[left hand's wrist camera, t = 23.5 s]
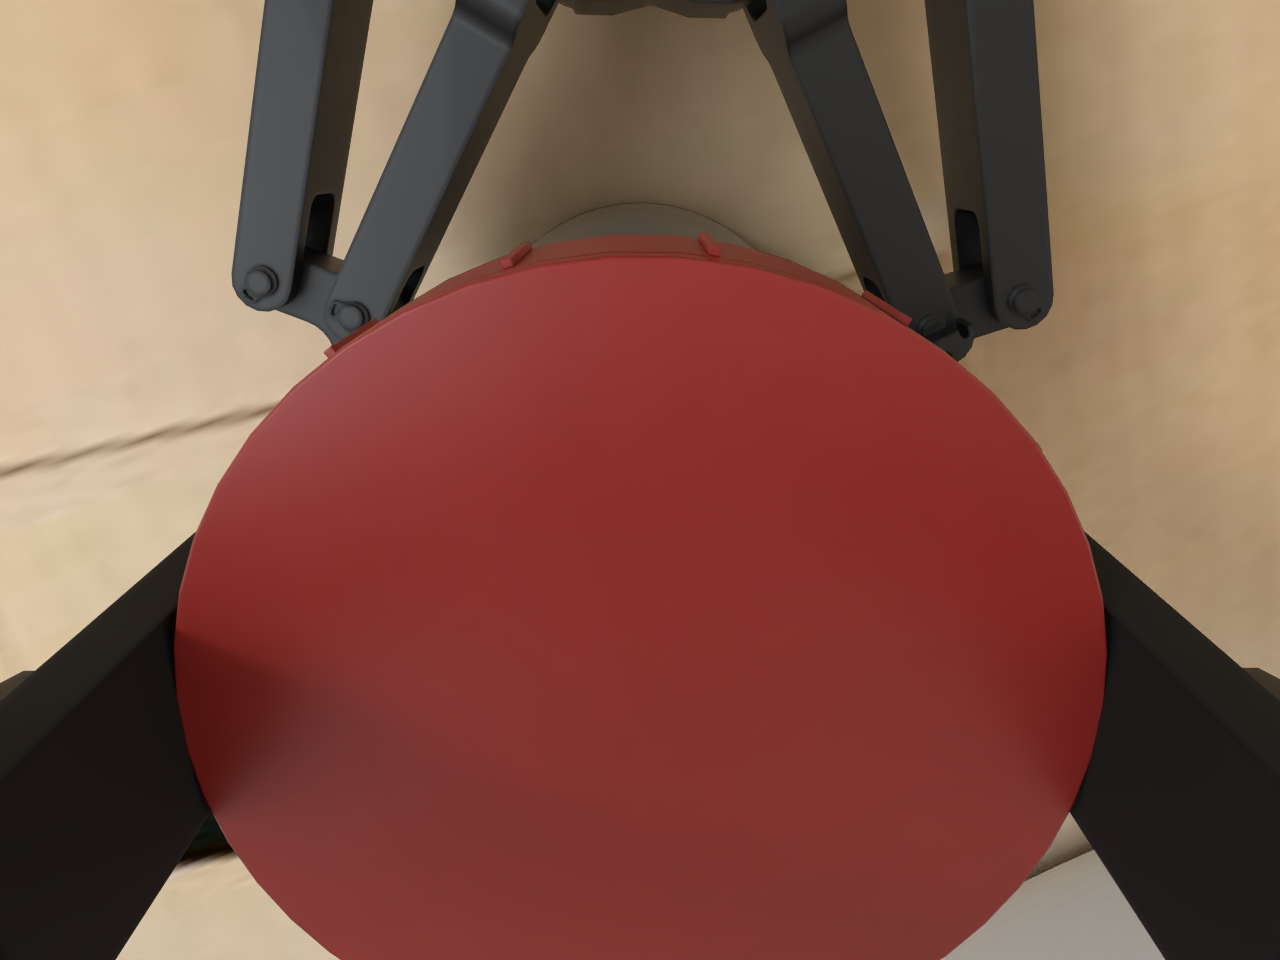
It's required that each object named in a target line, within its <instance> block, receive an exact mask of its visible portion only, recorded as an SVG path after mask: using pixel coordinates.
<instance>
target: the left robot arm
mask: <svg viewBox="0 0 1280 960" xmlns="http://www.w3.org/2000/svg"><path fill="white" fill-rule="evenodd" d="M1084 533H1085V535H1086V537H1087V540H1088V542H1089V545H1090V549H1091V553H1092V557H1093V561H1094V565H1095V569H1096V573H1097V577H1098V581H1099V585H1100V589H1101V593H1102V597H1103V606H1104V618H1105V630H1106V642H1107V667H1106V681H1105V695H1104V701H1103V707H1102V711H1101V716H1100V720H1099V725H1098V730H1097V734H1096V739H1095V743H1094V748H1093V752H1092V757H1091V760H1090V763H1089V766H1088V768H1087V771H1086V773H1085V776H1084V779H1083V781H1082V784H1081V786H1080V789H1079V792H1078V794H1077V797H1076V799H1075V802H1074V804H1073V806H1072V808H1071V809H1070V811H1069V812H1070V813H1071V815H1072V816H1073V818H1074V819H1075V821H1076V822H1077V824H1078V826H1079V827H1080V829H1081V830H1082V832H1083V833H1084V835H1085V836H1086V838H1087V839H1088V841H1089V843H1090V844H1091V846H1092V847H1093V849H1094V850H1095V852H1096V853H1097V855H1098V857H1099V858H1100V860H1101V861H1102V863H1103V864H1104V866H1105V867H1106V869H1107V870H1108V872H1109V874H1110V875H1111V877H1112V878H1113V880H1114V881H1115V883H1116V884H1117V886H1118V888H1119V889H1120V891H1121V892H1122V894H1123V895H1124V897H1125V898H1126V900H1127V901H1128V903H1129V905H1130V906H1131V908H1132V909H1133V911H1134V912H1135V914H1136V915H1137V917H1138V919H1139V920H1140V922H1141V923H1142V925H1143V926H1144V928H1145V929H1146V931H1147V932H1148V934H1149V936H1150V937H1151V939H1152V940H1153V942H1154V943H1155V945H1156V946H1157V948H1158V949H1159V951H1160V953H1161V954H1162V956H1163V957H1164V959H1165V960H1280V679H1278V678H1276V677H1274V676H1273V675H1271V674H1269V673H1267V672H1265V671H1263V670H1261V669H1259V668H1241V667H1240V666H1239V665H1238V664H1237V663H1236V662H1235V661H1233V660H1232V659H1231V658H1230V657H1229V656H1228V655H1226V654H1225V653H1224V652H1223V651H1222V650H1221V649H1220V648H1218V647H1217V646H1216V645H1215V644H1214V643H1213V642H1211V641H1210V640H1209V639H1208V638H1207V637H1206V636H1205V635H1203V634H1202V633H1201V632H1200V631H1199V630H1198V629H1196V628H1195V627H1194V626H1193V625H1192V624H1191V623H1190V622H1188V621H1187V620H1186V619H1185V618H1184V617H1183V616H1181V615H1180V614H1179V613H1178V612H1177V611H1176V610H1174V609H1173V608H1172V607H1171V606H1170V605H1169V604H1168V603H1166V602H1165V601H1164V600H1163V599H1162V598H1161V597H1159V596H1158V595H1157V594H1156V593H1155V592H1154V591H1153V590H1151V589H1150V588H1149V587H1148V586H1147V585H1146V584H1144V583H1143V582H1142V581H1141V580H1140V579H1139V578H1138V577H1136V576H1135V575H1134V574H1133V573H1132V572H1131V571H1129V570H1128V569H1127V568H1126V567H1125V566H1124V565H1123V564H1121V563H1120V562H1119V561H1118V560H1117V559H1116V558H1114V557H1113V556H1112V555H1111V554H1110V553H1109V552H1107V551H1106V550H1105V549H1104V548H1103V547H1102V546H1101V545H1099V544H1098V543H1097V542H1096V541H1095V540H1094V539H1092V538H1091V537H1090V536H1089V535H1088V534H1087V533H1086V532H1084ZM195 534H196V532H195V533H194V534H193V535H192V536H190V537H189V538H188V539H187V540H186V541H185V542H183V543H182V544H181V545H180V546H179V547H178V548H177V549H175V550H174V551H173V552H172V553H171V554H170V555H168V556H167V557H166V558H165V559H164V560H163V561H162V562H160V563H159V564H158V565H157V566H156V567H155V568H153V569H152V570H151V571H150V572H149V573H148V574H147V575H145V576H144V577H143V578H142V579H141V580H140V581H138V582H137V583H136V584H135V585H134V586H133V587H132V588H130V589H129V590H128V591H127V592H126V593H125V594H123V595H122V596H121V597H120V598H119V599H118V600H117V601H115V602H114V603H113V604H112V605H111V606H110V607H108V608H107V609H106V610H105V611H104V612H103V613H101V614H100V615H99V616H98V617H97V618H96V619H95V620H93V621H92V622H91V623H90V624H89V625H88V626H86V627H85V628H84V629H83V630H82V631H81V632H80V633H78V634H77V635H76V636H75V637H74V638H73V639H71V640H70V641H69V642H68V643H67V644H66V645H65V646H63V647H62V648H61V649H60V650H59V651H58V652H56V653H55V654H54V655H53V656H52V657H51V658H50V659H48V660H47V661H46V662H45V663H44V664H43V665H41V666H40V667H39V668H38V669H37V670H36V671H22V672H20V673H19V674H17V675H15V676H13V677H11V678H9V679H7V680H5V681H3V682H1V683H0V960H116V958H117V957H118V955H119V953H120V952H121V950H122V949H123V947H124V946H125V944H126V943H127V941H128V940H129V938H130V936H131V935H132V933H133V932H134V930H135V929H136V927H137V926H138V924H139V922H140V921H141V919H142V918H143V916H144V915H145V913H146V912H147V910H148V909H149V907H150V905H151V904H152V902H153V901H154V899H155V898H156V896H157V895H158V893H159V891H160V890H161V888H162V887H163V885H164V884H165V882H166V881H167V879H168V878H169V876H170V874H171V873H172V871H173V870H174V868H175V867H176V865H177V864H178V862H179V861H180V859H181V857H182V856H183V854H184V853H185V851H186V850H187V848H188V847H189V845H190V843H191V842H192V840H193V839H194V837H195V836H196V834H197V833H198V831H199V830H200V828H201V826H202V825H203V823H204V822H205V820H206V819H207V817H208V816H209V814H210V812H211V809H210V807H209V805H208V803H207V801H206V800H205V798H204V795H203V793H202V790H201V787H200V784H199V782H198V779H197V776H196V773H195V771H194V768H193V765H192V762H191V760H190V757H189V753H188V749H187V745H186V740H185V735H184V731H183V726H182V721H181V716H180V712H179V707H178V702H177V697H176V685H175V665H174V637H175V627H176V618H177V609H178V599H179V590H180V587H181V583H182V579H183V576H184V572H185V568H186V565H187V561H188V557H189V554H190V550H191V546H192V542H193V539H194V536H195Z"/></svg>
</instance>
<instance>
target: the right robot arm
mask: <svg viewBox="0 0 1280 960" xmlns="http://www.w3.org/2000/svg"><path fill="white" fill-rule="evenodd" d="M558 3H560V4H562V5H564V6H567V7H570V8H573V9H574V11H575V13H576V14H583V15H615V14H619V13H623V12H626V11H630V10H634V9H637V8H641V7H645V6H650V5H651V6H656V7H659V8H662V9H665V10H668V11H671V12H674V13H677V14H680V15H683V16H686V17H694V18H726V17H727V15H728V14H729V13H730V12H733V11H737V10H739V9H741V8H743V9H744V12H745V14H746V17H747V19H748V21H749V24H750V26H751V29H752V31H753V33H754V36H755V38H756V40H757V43H758V45H759V47H760V49H761V51H762V53H763V55H764V56H765V58H766V59H767V60H768V62H769V64H770V65H771V67H772V70H773V72H774V74H775V77H776V79H777V82H778V84H779V86H780V89H781V91H782V94H783V96H784V99H785V101H786V103H787V106H788V108H789V111H790V113H791V115H792V118H793V120H794V123H795V125H796V128H797V130H798V132H799V135H800V137H801V140H802V142H803V144H804V147H805V149H806V152H807V154H808V157H809V159H810V161H811V164H812V166H813V169H814V171H815V173H816V176H817V178H818V181H819V183H820V186H821V188H822V190H823V193H824V195H825V198H826V200H827V202H828V205H829V207H830V210H831V212H832V215H833V217H834V219H835V222H836V224H837V227H838V229H839V231H840V234H841V236H842V239H843V241H844V244H845V246H846V248H847V251H848V253H849V256H850V258H851V260H852V263H853V265H854V268H855V270H856V273H857V275H858V277H859V280H860V282H861V285H862V287H863V289H864V291H865V290H867V291H868V292H870V293H872V294H873V295H875V296H876V297H878V298H880V299H881V300H883V301H884V302H886V303H887V304H889V305H891V306H892V307H894V308H895V309H897V310H899V311H900V312H902V313H903V314H905V315H907V316H908V317H910V318H911V319H912V320H911V322H910V323H909V325H908V327H909V328H911V329H912V330H914V331H915V332H917V333H918V334H920V335H921V336H923V337H924V338H926V339H927V340H929V341H930V342H932V343H933V344H935V345H936V346H938V347H939V348H941V349H942V350H944V351H945V352H946V353H947V354H948V355H950V356H951V357H952V358H953V359H954V360H956V361H957V362H958V361H959V360H961V359H962V358H964V357H965V356H966V354H967V353H968V351H969V350H970V349H971V347H972V344H973V340H974V338H976V337H980V336H983V335H986V334H989V333H992V332H995V331H998V330H1001V329H1004V328H1008V327H1010V328H1013V329H1027V328H1030V327H1032V326H1034V325H1037V324H1038V323H1039V322H1040V321H1041V320H1043V319H1044V318H1045V317H1046V316H1047V314H1048V312H1049V310H1050V308H1051V306H1052V302H1053V280H1052V265H1051V251H1050V236H1049V222H1048V207H1047V193H1046V178H1045V164H1044V149H1043V135H1042V120H1041V106H1040V91H1039V77H1038V63H1037V48H1036V34H1035V19H1034V5H1033V0H925V8H926V17H927V26H928V36H929V45H930V54H931V64H932V73H933V82H934V92H935V101H936V110H937V120H938V129H939V138H940V148H941V157H942V166H943V176H944V185H945V194H946V204H947V213H948V222H949V231H950V241H951V250H952V259H953V269H954V272H950V273H947V274H944V273H943V270H942V268H941V265H940V262H939V260H938V257H937V255H936V252H935V249H934V247H933V244H932V241H931V239H930V236H929V234H928V231H927V228H926V226H925V223H924V220H923V218H922V215H921V212H920V210H919V207H918V205H917V202H916V199H915V197H914V194H913V191H912V189H911V186H910V184H909V181H908V178H907V176H906V173H905V170H904V168H903V165H902V162H901V160H900V157H899V155H898V152H897V149H896V147H895V144H894V141H893V139H892V136H891V134H890V131H889V128H888V126H887V123H886V120H885V118H884V115H883V112H882V110H881V107H880V105H879V102H878V99H877V97H876V94H875V91H874V89H873V86H872V84H871V81H870V78H869V76H868V73H867V70H866V68H865V65H864V63H863V60H862V57H861V55H860V52H859V49H858V47H857V44H856V41H855V39H854V36H853V34H852V31H851V28H850V25H849V22H848V17H847V3H846V0H456V4H455V8H454V12H453V15H452V17H451V20H450V22H449V24H448V26H447V29H446V31H445V33H444V35H443V38H442V40H441V42H440V44H439V47H438V49H437V51H436V54H435V56H434V58H433V60H432V63H431V65H430V67H429V69H428V72H427V74H426V76H425V78H424V81H423V83H422V85H421V87H420V90H419V92H418V94H417V97H416V99H415V101H414V103H413V106H412V108H411V110H410V112H409V115H408V117H407V119H406V121H405V124H404V126H403V128H402V130H401V133H400V135H399V137H398V140H397V142H396V144H395V146H394V149H393V151H392V153H391V155H390V158H389V160H388V162H387V164H386V167H385V169H384V171H383V173H382V176H381V178H380V180H379V183H378V185H377V187H376V189H375V192H374V194H373V196H372V198H371V201H370V203H369V205H368V207H367V210H366V212H365V214H364V216H363V219H362V221H361V223H360V226H359V228H358V230H357V232H356V235H355V237H354V239H353V241H352V244H351V246H350V248H349V250H348V253H347V255H346V257H345V259H344V260H341V259H339V258H336V257H333V256H332V255H333V249H334V242H335V236H336V230H337V224H338V217H339V211H340V205H341V199H342V192H343V186H344V180H345V174H346V167H347V161H348V155H349V149H350V142H351V136H352V130H353V123H354V117H355V111H356V105H357V98H358V92H359V86H360V80H361V73H362V67H363V61H364V55H365V48H366V42H367V36H368V30H369V23H370V17H371V11H372V5H373V0H265V4H264V12H263V21H262V29H261V37H260V45H259V53H258V62H257V70H256V78H255V86H254V94H253V103H252V111H251V119H250V127H249V136H248V144H247V152H246V160H245V168H244V177H243V185H242V193H241V201H240V210H239V218H238V226H237V234H236V242H235V251H234V259H233V267H232V285H233V288H234V290H235V292H236V294H237V296H238V297H239V298H240V299H241V300H242V301H243V302H244V303H245V304H246V305H247V306H249V307H251V308H253V309H255V310H257V311H272V310H277V311H280V312H283V313H285V314H288V315H291V316H293V317H296V318H299V319H302V320H304V321H307V322H309V323H311V324H313V325H315V326H317V327H318V328H319V329H320V330H321V331H323V332H324V333H325V335H326V336H327V337H328V339H329V340H330V342H331V344H332V345H334V344H335V343H337V342H338V341H340V340H342V339H343V338H345V337H346V336H348V335H349V334H351V333H352V332H354V331H356V330H357V329H359V328H360V327H362V326H363V325H365V324H367V323H368V322H370V321H371V320H373V319H374V318H376V319H377V320H378V321H379V322H380V321H382V320H383V319H385V318H386V317H388V316H389V315H391V314H392V313H394V312H395V311H397V310H398V309H400V308H401V307H403V306H404V305H406V304H408V303H409V302H411V301H413V299H414V297H415V295H416V293H417V291H418V288H419V286H420V284H421V282H422V280H423V278H424V276H425V274H426V272H427V270H428V267H429V265H430V263H431V261H432V259H433V257H434V255H435V253H436V251H437V249H438V246H439V244H440V242H441V240H442V238H443V236H444V234H445V232H446V230H447V228H448V225H449V223H450V221H451V219H452V217H453V215H454V213H455V211H456V209H457V207H458V204H459V202H460V200H461V198H462V196H463V194H464V192H465V190H466V188H467V185H468V183H469V181H470V179H471V177H472V175H473V173H474V171H475V169H476V167H477V164H478V162H479V160H480V158H481V156H482V154H483V152H484V150H485V148H486V146H487V143H488V141H489V139H490V137H491V135H492V133H493V131H494V129H495V127H496V125H497V122H498V120H499V118H500V116H501V114H502V112H503V110H504V108H505V106H506V104H507V101H508V99H509V97H510V95H511V93H512V91H513V89H514V87H515V85H516V83H517V80H518V78H519V76H520V74H521V72H522V70H523V68H524V66H525V64H526V62H527V60H528V58H529V56H530V55H531V54H532V52H533V51H534V50H535V48H536V47H537V45H538V43H539V42H540V40H541V38H542V36H543V34H544V32H545V30H546V27H547V25H548V23H549V21H550V19H551V17H552V15H553V13H554V11H555V9H556V7H557V4H558Z"/></svg>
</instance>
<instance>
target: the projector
mask: <svg viewBox="0 0 1280 960" xmlns="http://www.w3.org/2000/svg"><path fill="white" fill-rule="evenodd" d="M941 960H1165V959H1164V957H1163V956H1162V954H1161V953H1160V951H1159V949H1158V948H1157V946H1156V945H1155V943H1154V942H1153V940H1152V939H1151V937H1150V936H1149V934H1148V932H1147V931H1146V929H1145V928H1144V926H1143V925H1142V923H1141V922H1140V920H1139V919H1138V917H1137V915H1136V914H1135V912H1134V911H1133V909H1132V908H1131V906H1130V905H1129V903H1128V901H1127V900H1126V898H1125V897H1124V895H1123V894H1122V892H1121V891H1120V889H1119V888H1118V886H1117V884H1116V883H1115V881H1114V880H1113V878H1112V877H1111V875H1110V874H1109V872H1108V870H1107V869H1106V867H1105V866H1104V864H1103V863H1102V861H1101V860H1100V858H1099V857H1098V855H1097V853H1096V852H1095V850H1092V851H1090V852H1087V853H1085V854H1083V855H1081V856H1078V857H1076V858H1074V859H1072V860H1069V861H1067V862H1065V863H1062V864H1060V865H1058V866H1056V867H1054V868H1052V869H1050V870H1047V871H1045V872H1043V873H1041V874H1039V875H1037V876H1035V877H1033V878H1031V879H1029V880H1027V881H1024V882H1023V884H1022V885H1021V886H1020V888H1019V889H1018V890H1017V891H1016V892H1015V893H1014V894H1013V895H1012V896H1011V897H1010V898H1009V899H1008V900H1007V901H1006V902H1005V903H1004V905H1003V906H1002V907H1001V908H1000V909H999V910H998V911H997V912H996V913H995V914H994V915H993V916H992V917H991V918H990V919H989V920H988V921H987V922H986V923H985V924H984V925H983V926H982V927H981V928H980V929H978V930H977V931H976V932H975V933H973V934H972V935H971V936H970V937H969V938H967V939H966V940H965V941H964V942H963V943H961V944H960V945H959V946H958V947H957V948H955V949H954V950H953V951H952V952H951V953H949V954H948V955H947V956H946V957H944V958H943V959H941Z"/></svg>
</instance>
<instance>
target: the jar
mask: <svg viewBox="0 0 1280 960" xmlns="http://www.w3.org/2000/svg"><path fill="white" fill-rule="evenodd" d="M700 231H702V232H708V233H709V234H710V235H711V236H712V237H713V239H714V240H715V241H717V242H724V243H731V244H735V245H738V246H742V247H745V248H749V249H752V250H754V249H753V248H752V247H751V246H750V245H748V244H747V243H746V242H745V241H744V240H742V239H741V238H740V237H738V236H737V235H736V234H734V233H733V232H732V231H730V230H729V229H728V228H726V227H724V226H722V225H720V224H719V223H717V222H715V221H713V220H711V219H709V218H707V217H705V216H702V215H700V214H697V213H694V212H692V211H689V210H686V209H681V208H677V207H673V206H669V205H661V204H651V203H631V204H619V205H613V206H608V207H602V208H598V209H595V210H592V211H589V212H586V213H583V214H580V215H578V216H576V217H574V218H572V219H570V220H568V221H566V222H564V223H562V224H559V225H558V226H556V227H555V228H554V229H552V230H551V231H549V232H548V233H546V234H545V235H543V236H542V237H540V238H539V239H538V240H537V241H536V242H535V243H534V244H533V245H532V246H531V247H532V249H533V248H536V247H540V246H544V245H547V244H551V243H555V242H561V241H569V240H576V239H584V238H592V237H600V236H608V235H676V236H683V237H690V238H697V239H699V233H700Z"/></svg>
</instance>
